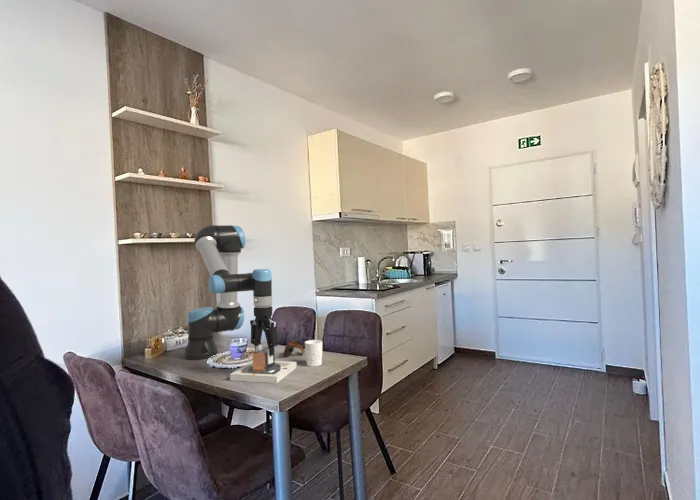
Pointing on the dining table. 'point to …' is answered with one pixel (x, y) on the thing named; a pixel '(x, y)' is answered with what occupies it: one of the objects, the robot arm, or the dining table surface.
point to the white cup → (313, 352)
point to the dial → (263, 363)
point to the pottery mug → (291, 345)
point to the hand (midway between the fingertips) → (264, 362)
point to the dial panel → (275, 378)
